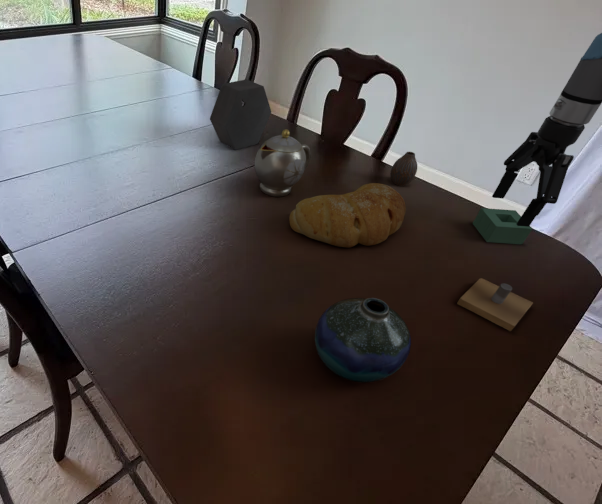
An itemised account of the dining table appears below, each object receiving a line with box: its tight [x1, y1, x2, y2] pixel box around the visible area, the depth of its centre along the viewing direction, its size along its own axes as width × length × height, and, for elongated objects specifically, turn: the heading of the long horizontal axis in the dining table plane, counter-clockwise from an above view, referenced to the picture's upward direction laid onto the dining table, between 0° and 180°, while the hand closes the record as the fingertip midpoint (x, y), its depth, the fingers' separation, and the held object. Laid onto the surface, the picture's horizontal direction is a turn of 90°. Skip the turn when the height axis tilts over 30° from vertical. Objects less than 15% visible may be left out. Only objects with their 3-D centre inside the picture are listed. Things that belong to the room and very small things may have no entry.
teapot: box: [254, 128, 312, 198], centre depth 118 cm, size 18×14×16 cm
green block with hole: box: [472, 207, 533, 245], centre depth 112 cm, size 9×9×4 cm
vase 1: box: [314, 297, 412, 383], centre depth 74 cm, size 15×15×13 cm
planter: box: [209, 79, 272, 151], centre depth 139 cm, size 17×8×21 cm
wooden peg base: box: [456, 277, 534, 332], centre depth 90 cm, size 11×11×5 cm
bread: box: [288, 182, 407, 248], centre depth 108 cm, size 32×20×10 cm, turn 117°
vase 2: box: [389, 151, 418, 187], centre depth 128 cm, size 7×7×9 cm
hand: (509, 210), depth 109 cm, fingers open, 13 cm apart
